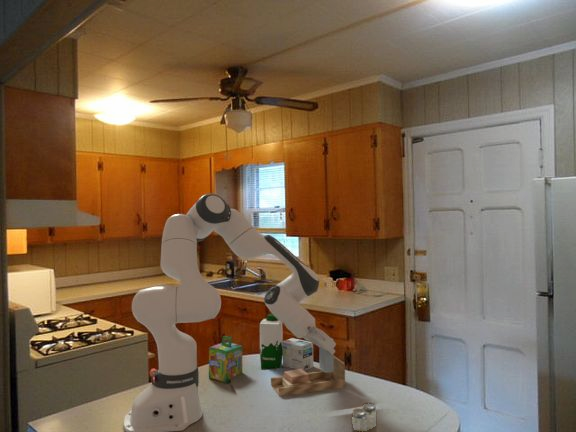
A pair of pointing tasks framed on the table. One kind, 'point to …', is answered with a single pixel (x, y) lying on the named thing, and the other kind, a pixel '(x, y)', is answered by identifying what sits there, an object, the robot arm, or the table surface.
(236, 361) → the chalk box
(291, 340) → the light bulb box
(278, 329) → the milk carton
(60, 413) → the table surface
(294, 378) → the offcut top
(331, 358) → the tall board
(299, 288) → the robot arm
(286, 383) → the offcut low
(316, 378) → the rack
